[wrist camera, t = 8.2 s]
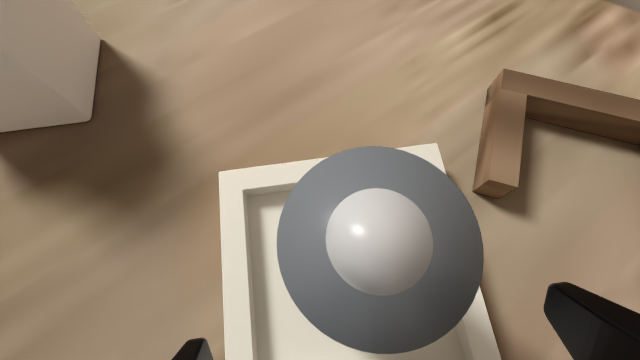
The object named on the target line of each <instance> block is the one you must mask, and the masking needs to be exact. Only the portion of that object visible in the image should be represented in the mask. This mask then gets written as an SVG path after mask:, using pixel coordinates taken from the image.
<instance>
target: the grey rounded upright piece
mask: <svg viewBox="0 0 640 360" xmlns="http://www.w3.org/2000/svg"><path fill="white" fill-rule="evenodd" d="M276 245H277V258H278V263H279V268H280V273H281V275H282V278H283V281H284V284H285V287H286V289H287V291H288V293H289V295H290V297H291V299H292V300H293V302H294V303H295V305H296V306H297V307H298V309H299V310H300V312H301V313H302V314H303V315H304V316H305V317H306V318H307V320H308V321H309V322H310V323H311V324H313V325H314V326H315V327H316V328H317V329H318V330H319V331H321V332H322V333H323V334H325V335H327V336H328V337H330V338H331V339H333V340H334V341H336V342H338V343H341V344H343V345H345V346H347V347H350V348H353V349H356V350H359V351H362V352H369V353H375V354H397V353H405V352H410V351H413V350H416V349H420V348H423V347H425V346H427V345H429V344H431V343H433V342H435V341H437V340H438V339H440V338H441V337H443V336H444V335H446V334H447V333H448V332H449V331H450V330H452V329H453V328H454V327H455V326H456V325H457V324H458V323H459V322H460V320H461V319H462V318H463V317H464V315H465V314H466V313H467V311H468V309H469V308H470V306H471V304H472V303H473V301H474V298H475V296H476V293H477V291H478V289H479V285H480V281H481V277H482V270H483V261H484V260H483V243H482V237H481V232H480V228H479V225H478V221H477V219H476V216H475V214H474V212H473V210H472V207H471V206H470V204H469V202H468V201H467V199H466V197H465V196H464V194H463V193H462V192H461V190H460V189H459V188H458V186H457V185H456V184H455V183H454V182H453V181H452V180H451V179H450V178H449V177H448V176H447V175H446V174H445V173H444V172H442V171H441V170H440V169H439V168H437V167H436V166H434V165H433V164H431V163H430V162H428V161H427V160H425V159H423V158H421V157H419V156H417V155H414V154H411V153H409V152H406V151H403V150H399V149H395V148H389V147H381V146H367V147H358V148H353V149H349V150H345V151H342V152H339V153H336V154H334V155H332V156H330V157H328V158H326V159H324V160H322V161H321V162H319V163H318V164H316V165H315V166H314V167H312V168H311V169H310V170H309V171H308V172H307V173H306V174H305V175H304V176H303V177H302V178H301V179H300V180H299V181H298V183H297V184H296V185H295V187H294V188H293V190H292V191H291V193H290V194H289V196H288V198H287V200H286V202H285V204H284V207H283V210H282V213H281V216H280V219H279V225H278V230H277V244H276Z"/></svg>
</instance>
